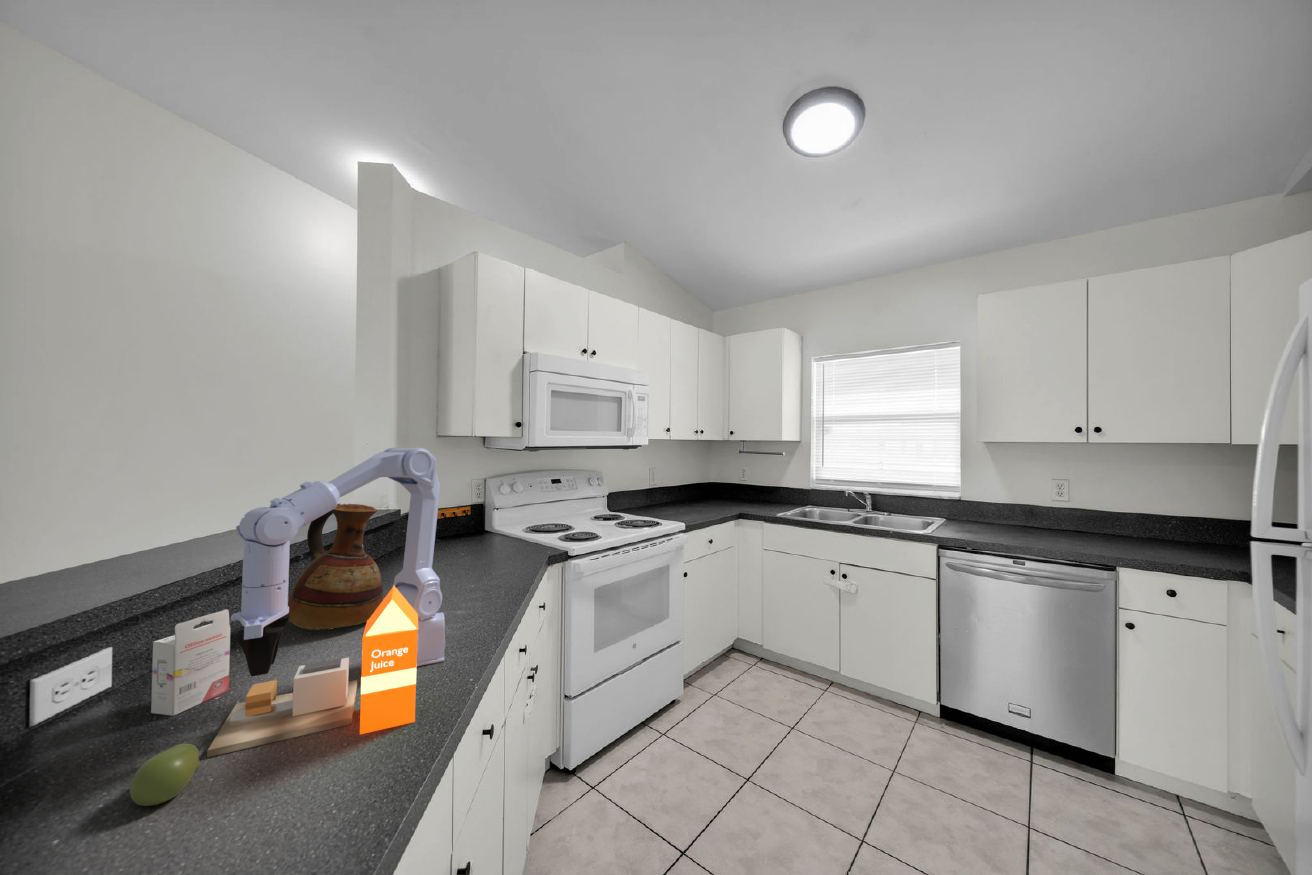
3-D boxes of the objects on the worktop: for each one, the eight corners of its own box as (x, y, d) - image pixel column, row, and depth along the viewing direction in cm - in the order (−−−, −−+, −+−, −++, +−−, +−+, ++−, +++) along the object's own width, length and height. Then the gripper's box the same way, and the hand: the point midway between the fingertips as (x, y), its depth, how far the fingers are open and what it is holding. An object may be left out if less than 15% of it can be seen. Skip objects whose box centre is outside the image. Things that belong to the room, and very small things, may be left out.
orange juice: (358, 734, 71) (362, 602, 72) (364, 706, 79) (367, 587, 80) (416, 721, 75) (419, 595, 75) (416, 696, 82) (418, 581, 83)
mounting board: (357, 685, 86) (357, 680, 86) (351, 723, 74) (351, 717, 74) (236, 709, 78) (236, 703, 78) (207, 757, 66) (207, 750, 66)
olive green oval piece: (122, 770, 55) (156, 741, 63) (117, 821, 54) (152, 784, 62) (188, 755, 57) (212, 728, 66) (184, 803, 56) (209, 770, 65)
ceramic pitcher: (350, 640, 107) (354, 508, 108) (263, 639, 107) (268, 508, 108) (398, 611, 126) (401, 500, 128) (325, 610, 127) (328, 499, 128)
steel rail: (348, 694, 81) (348, 688, 81) (347, 702, 78) (347, 696, 78) (234, 718, 73) (234, 711, 73) (228, 728, 71) (229, 721, 71)
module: (347, 691, 82) (349, 653, 82) (345, 704, 77) (346, 665, 77) (298, 701, 78) (299, 662, 78) (292, 716, 74) (293, 675, 74)
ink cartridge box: (207, 688, 85) (211, 606, 85) (229, 691, 84) (232, 608, 84) (148, 713, 76) (152, 622, 77) (171, 717, 75) (175, 625, 76)
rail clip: (276, 698, 77) (277, 679, 77) (270, 711, 73) (270, 692, 73) (252, 703, 75) (253, 684, 75) (245, 716, 71) (245, 696, 71)
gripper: (245, 575, 79) (242, 657, 78) (217, 598, 66) (213, 696, 66) (297, 570, 82) (295, 648, 82) (280, 592, 70) (277, 684, 69)
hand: (262, 669), depth 74 cm, fingers open, 3 cm apart
